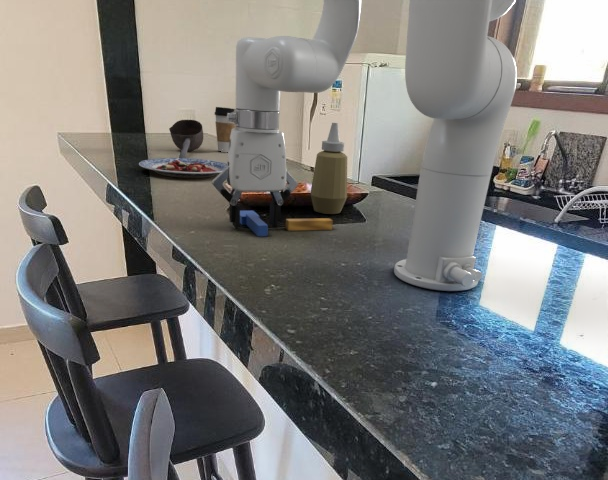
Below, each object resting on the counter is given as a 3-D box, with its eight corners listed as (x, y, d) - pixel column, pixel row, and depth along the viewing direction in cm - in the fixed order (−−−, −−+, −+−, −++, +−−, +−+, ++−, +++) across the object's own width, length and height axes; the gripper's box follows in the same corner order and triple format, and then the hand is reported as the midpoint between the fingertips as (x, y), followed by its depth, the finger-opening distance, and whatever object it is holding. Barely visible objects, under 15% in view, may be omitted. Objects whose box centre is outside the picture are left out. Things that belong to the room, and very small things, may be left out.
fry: (328, 227, 104) (329, 218, 104) (332, 229, 103) (332, 220, 102) (285, 228, 102) (285, 218, 101) (288, 230, 100) (288, 221, 99)
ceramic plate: (217, 184, 137) (217, 172, 135) (122, 175, 140) (121, 163, 138) (243, 170, 159) (243, 160, 158) (161, 163, 162) (160, 152, 161)
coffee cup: (210, 151, 194) (210, 106, 187) (220, 149, 202) (220, 106, 195) (231, 154, 192) (232, 108, 186) (241, 151, 200) (241, 108, 193)
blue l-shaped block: (272, 236, 96) (272, 225, 95) (253, 236, 94) (253, 225, 94) (253, 218, 107) (253, 208, 106) (235, 218, 106) (235, 208, 105)
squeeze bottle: (342, 217, 113) (352, 125, 104) (305, 213, 114) (311, 122, 106) (347, 210, 120) (356, 123, 111) (312, 206, 121) (319, 120, 113)
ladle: (205, 142, 198) (201, 114, 191) (205, 189, 170) (201, 158, 163) (173, 144, 196) (168, 116, 189) (168, 191, 169) (162, 160, 162)
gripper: (211, 121, 85) (212, 232, 93) (312, 126, 91) (304, 230, 99) (202, 117, 91) (204, 221, 100) (297, 122, 97) (292, 220, 105)
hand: (254, 224), depth 99 cm, fingers open, 6 cm apart
